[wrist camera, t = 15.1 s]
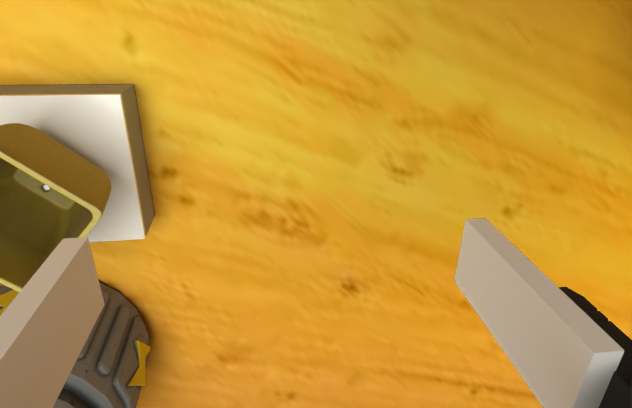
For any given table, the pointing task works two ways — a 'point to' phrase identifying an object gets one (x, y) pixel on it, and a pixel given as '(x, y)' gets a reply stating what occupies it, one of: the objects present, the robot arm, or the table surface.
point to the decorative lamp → (105, 356)
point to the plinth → (94, 144)
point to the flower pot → (43, 199)
